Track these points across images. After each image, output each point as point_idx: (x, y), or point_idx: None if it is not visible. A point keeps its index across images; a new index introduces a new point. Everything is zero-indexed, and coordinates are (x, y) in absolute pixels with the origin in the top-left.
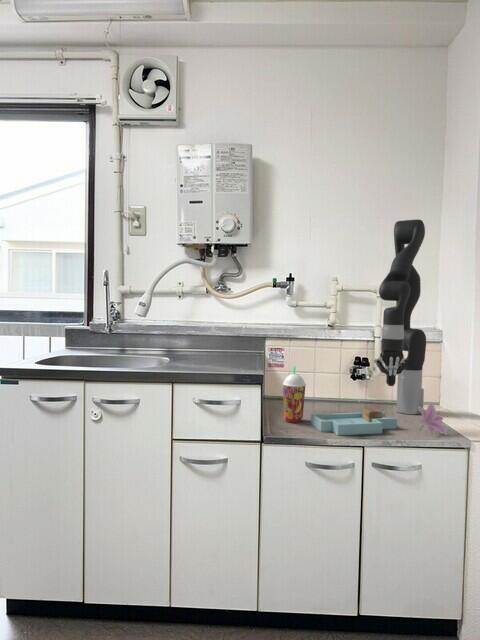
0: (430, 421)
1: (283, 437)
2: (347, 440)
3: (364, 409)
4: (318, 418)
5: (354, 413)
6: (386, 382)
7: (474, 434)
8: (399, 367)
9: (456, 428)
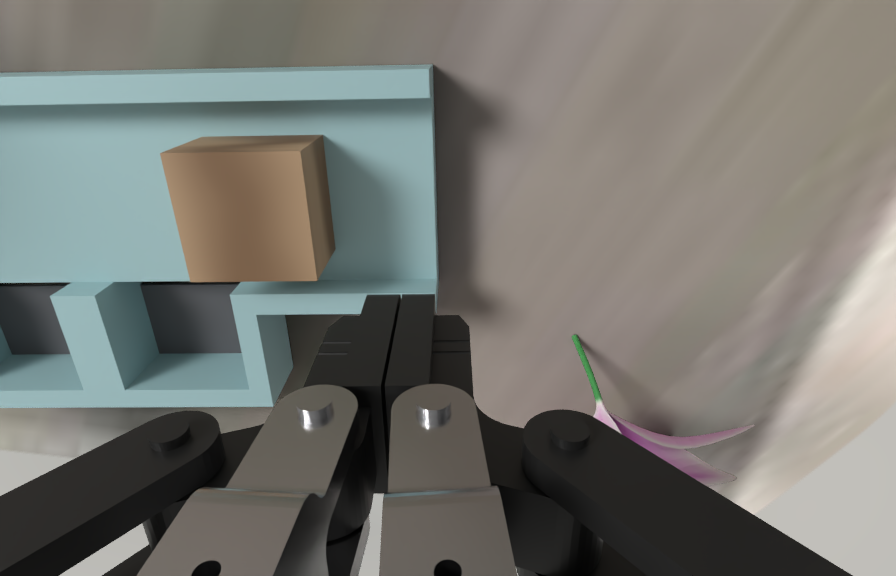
0: (629, 424)
1: None
2: (54, 451)
3: (171, 184)
4: None
5: (113, 102)
6: (329, 337)
7: (839, 449)
8: (670, 556)
9: (853, 330)
